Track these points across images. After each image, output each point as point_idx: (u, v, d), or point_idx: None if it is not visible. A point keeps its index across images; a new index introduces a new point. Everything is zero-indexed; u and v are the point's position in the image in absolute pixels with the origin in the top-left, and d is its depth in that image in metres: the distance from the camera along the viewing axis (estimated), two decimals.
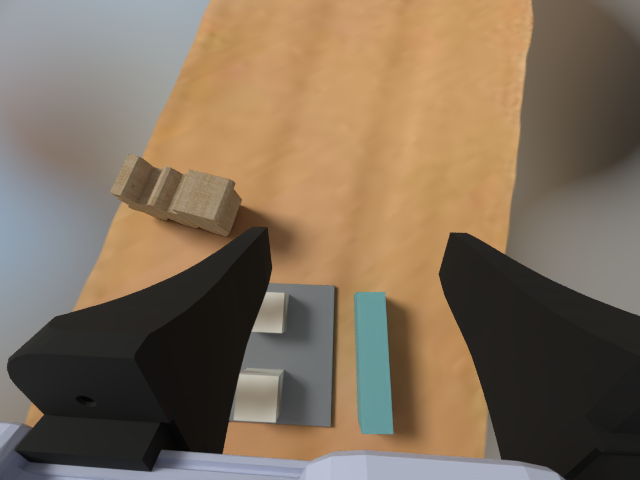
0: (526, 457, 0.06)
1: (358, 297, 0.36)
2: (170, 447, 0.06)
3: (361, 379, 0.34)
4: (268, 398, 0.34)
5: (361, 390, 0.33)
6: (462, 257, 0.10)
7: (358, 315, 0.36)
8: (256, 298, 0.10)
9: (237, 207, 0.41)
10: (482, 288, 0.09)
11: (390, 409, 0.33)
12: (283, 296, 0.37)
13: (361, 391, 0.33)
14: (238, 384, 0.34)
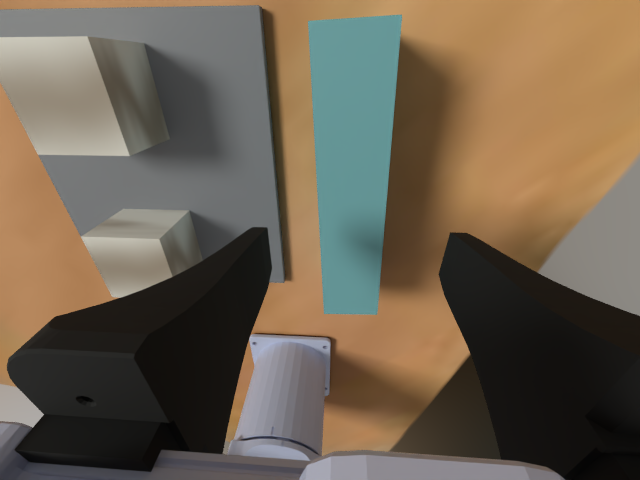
0: (526, 457, 0.06)
1: (313, 41, 0.11)
2: (170, 447, 0.06)
3: (323, 243, 0.16)
4: (155, 270, 0.18)
5: (323, 260, 0.17)
6: (462, 257, 0.10)
7: (315, 102, 0.13)
8: (255, 298, 0.10)
9: None
10: (482, 288, 0.09)
11: (376, 286, 0.18)
12: (90, 50, 0.12)
13: (323, 261, 0.17)
14: (91, 251, 0.18)
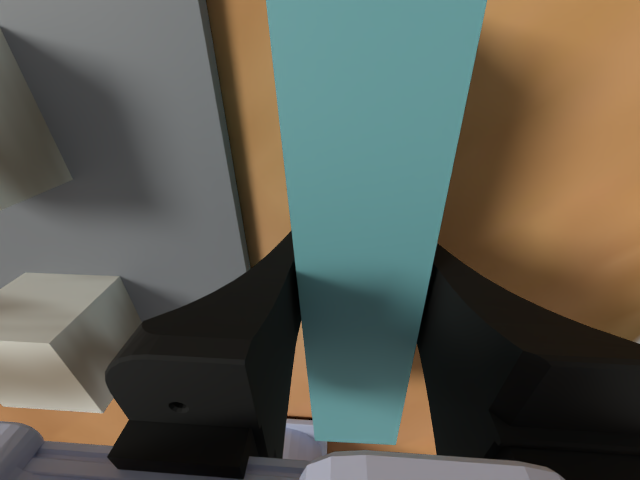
0: (452, 452, 0.07)
1: (278, 6, 0.05)
2: (253, 453, 0.05)
3: (311, 362, 0.10)
4: (55, 380, 0.12)
5: (312, 382, 0.10)
6: None
7: (288, 142, 0.06)
8: None
9: None
10: None
11: (397, 415, 0.11)
12: None
13: (312, 384, 0.10)
14: None
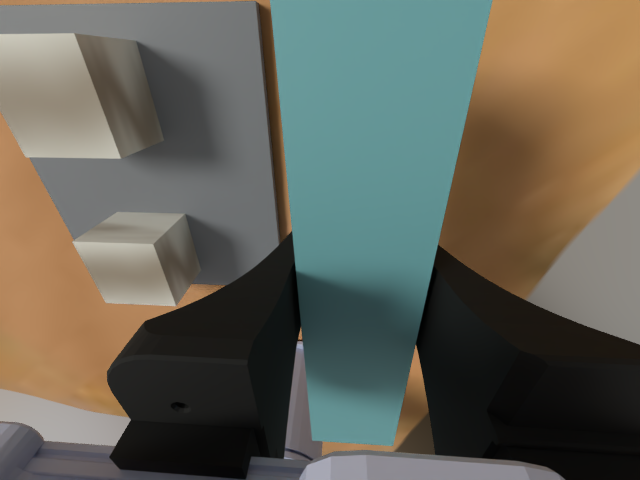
0: (450, 451, 0.07)
1: (281, 3, 0.05)
2: (255, 453, 0.05)
3: (310, 362, 0.10)
4: (149, 276, 0.18)
5: (310, 382, 0.10)
6: None
7: (289, 140, 0.06)
8: None
9: None
10: None
11: (395, 416, 0.11)
12: (77, 47, 0.12)
13: (310, 384, 0.10)
14: (83, 257, 0.17)
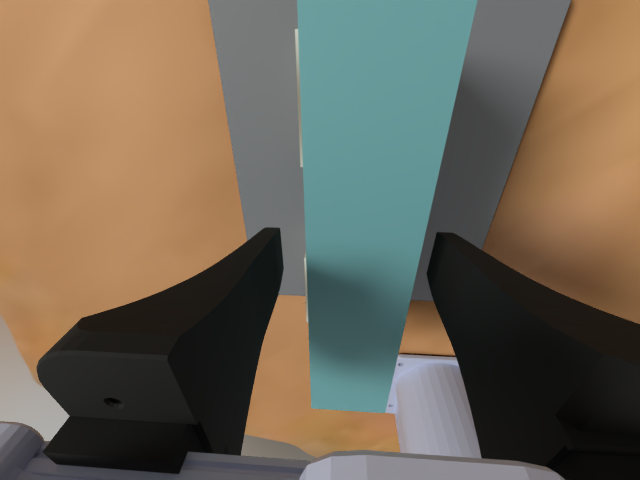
0: (503, 455, 0.06)
1: (306, 13, 0.06)
2: (195, 449, 0.05)
3: (313, 329, 0.11)
4: None
5: (312, 349, 0.12)
6: (447, 256, 0.10)
7: (306, 126, 0.07)
8: (269, 299, 0.10)
9: None
10: (465, 287, 0.09)
11: (387, 382, 0.12)
12: None
13: (312, 351, 0.12)
14: None
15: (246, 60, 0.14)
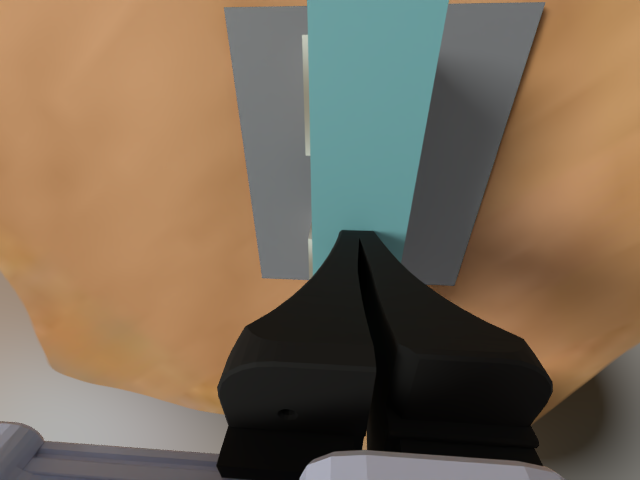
0: (372, 446, 0.07)
1: (314, 25, 0.08)
2: None
3: None
4: None
5: None
6: (359, 253, 0.10)
7: (313, 114, 0.09)
8: None
9: None
10: (366, 283, 0.09)
11: None
12: None
13: None
14: (311, 254, 0.18)
15: (257, 61, 0.16)
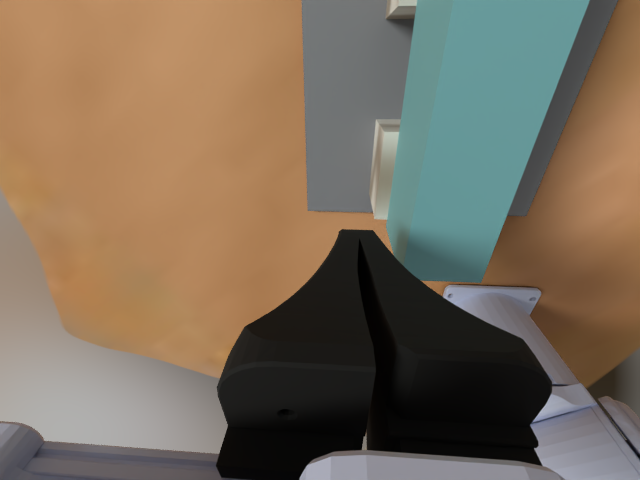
0: (372, 446, 0.07)
1: None
2: None
3: (429, 154, 0.10)
4: None
5: (422, 186, 0.11)
6: (359, 253, 0.10)
7: None
8: None
9: None
10: (365, 283, 0.09)
11: (495, 234, 0.12)
12: None
13: (421, 189, 0.11)
14: (384, 154, 0.15)
15: None
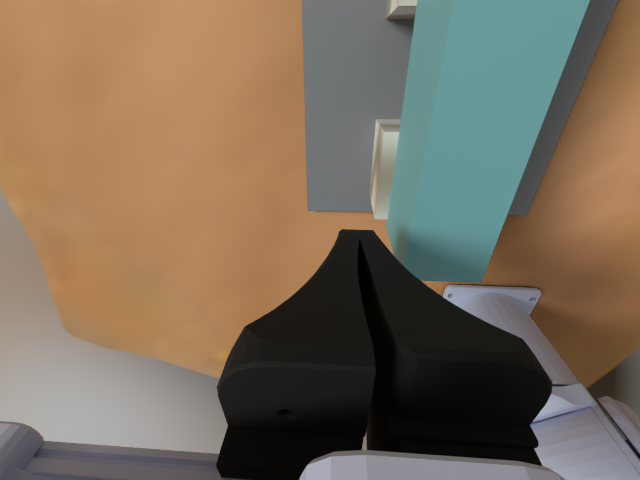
0: (372, 446, 0.07)
1: None
2: None
3: (430, 154, 0.10)
4: None
5: (422, 186, 0.11)
6: (359, 253, 0.10)
7: None
8: None
9: None
10: (365, 283, 0.09)
11: (495, 234, 0.12)
12: None
13: (421, 189, 0.11)
14: (384, 154, 0.15)
15: None
